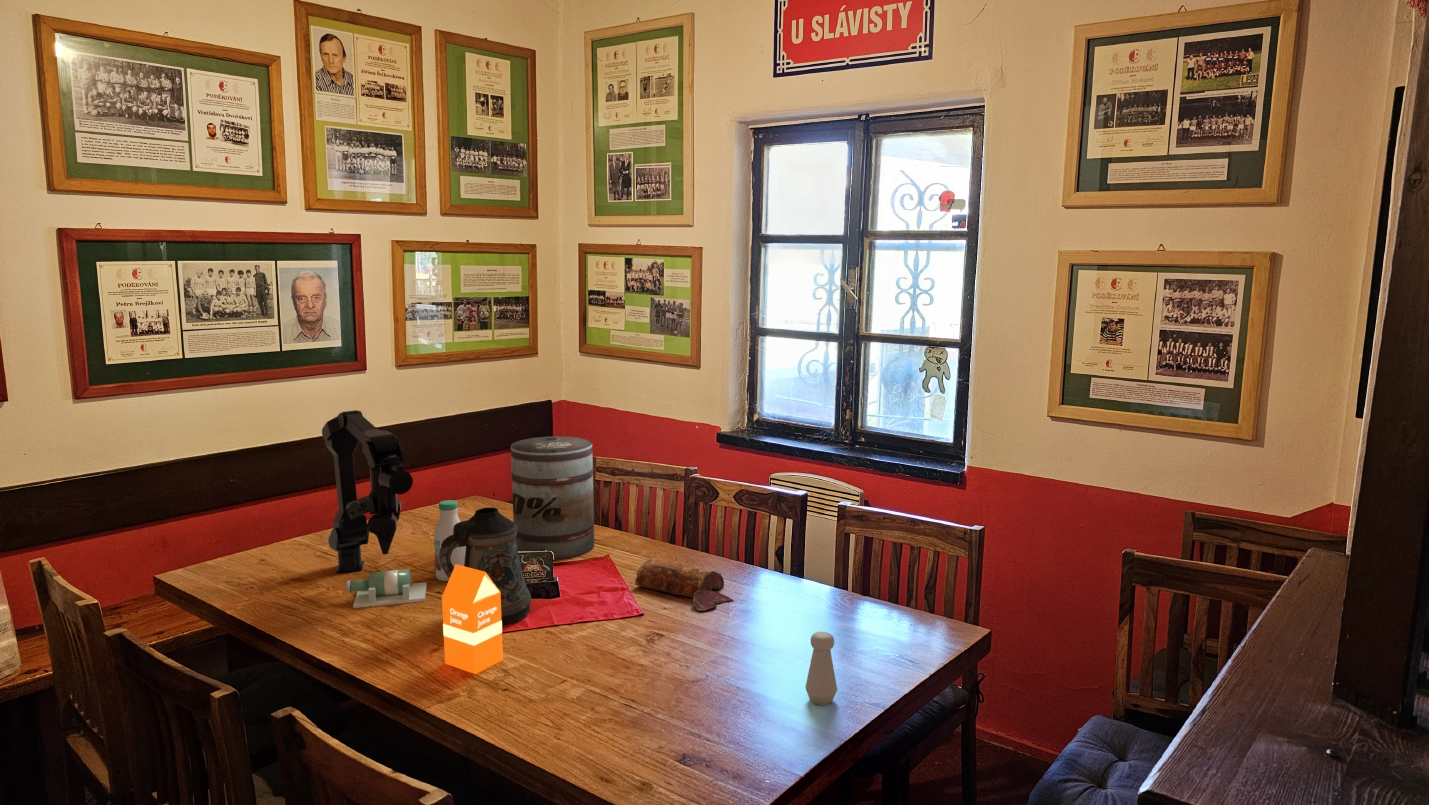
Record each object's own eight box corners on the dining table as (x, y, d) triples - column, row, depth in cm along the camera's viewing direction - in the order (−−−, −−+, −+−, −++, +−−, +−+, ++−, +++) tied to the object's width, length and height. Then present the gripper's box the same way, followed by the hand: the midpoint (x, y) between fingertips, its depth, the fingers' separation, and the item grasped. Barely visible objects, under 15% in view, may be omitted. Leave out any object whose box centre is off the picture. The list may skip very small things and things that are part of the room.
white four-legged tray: (353, 608, 207) (352, 592, 207) (358, 591, 218) (357, 576, 217) (424, 601, 212) (424, 585, 211) (426, 585, 222) (425, 570, 222)
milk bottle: (471, 572, 232) (468, 498, 228) (460, 582, 224) (456, 506, 221) (443, 571, 232) (439, 497, 229) (431, 581, 225) (427, 505, 222)
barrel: (501, 544, 254) (497, 442, 249) (571, 530, 267) (568, 433, 263) (535, 566, 236) (532, 456, 231) (608, 549, 250) (606, 446, 245)
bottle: (410, 584, 219) (409, 564, 216) (409, 597, 213) (408, 577, 211) (349, 590, 215) (347, 570, 213) (346, 603, 210) (344, 583, 208)
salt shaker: (803, 693, 167) (804, 628, 165) (832, 692, 168) (834, 627, 165) (808, 708, 161) (810, 641, 159) (839, 707, 162) (841, 640, 160)
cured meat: (710, 616, 204) (710, 587, 203) (624, 594, 217) (624, 568, 216) (749, 593, 219) (749, 566, 218) (666, 574, 232) (666, 549, 231)
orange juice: (475, 674, 174) (470, 578, 171) (444, 663, 179) (439, 569, 176) (503, 659, 181) (500, 566, 178) (473, 649, 186) (469, 558, 182)
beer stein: (545, 607, 208) (542, 504, 204) (492, 639, 191) (488, 527, 187) (489, 596, 215) (485, 496, 211) (433, 625, 198) (427, 517, 194)
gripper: (352, 478, 219) (355, 538, 222) (342, 498, 201) (346, 563, 204) (399, 475, 222) (402, 535, 225) (394, 495, 204) (397, 559, 207)
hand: (386, 548), depth 215 cm, fingers open, 9 cm apart
